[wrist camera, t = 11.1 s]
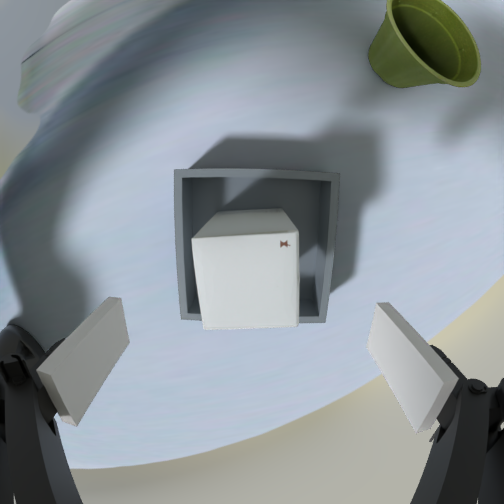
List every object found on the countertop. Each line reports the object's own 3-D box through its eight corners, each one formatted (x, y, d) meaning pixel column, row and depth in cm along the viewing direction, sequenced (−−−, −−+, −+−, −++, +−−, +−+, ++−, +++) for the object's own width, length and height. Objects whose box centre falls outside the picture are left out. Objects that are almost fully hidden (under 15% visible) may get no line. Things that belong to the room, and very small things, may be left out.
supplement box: (215, 210, 30) (188, 233, 18) (283, 207, 30) (302, 228, 18) (220, 274, 32) (200, 331, 20) (285, 271, 32) (301, 328, 20)
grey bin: (190, 299, 34) (181, 319, 29) (186, 170, 30) (174, 169, 25) (316, 303, 34) (325, 322, 29) (326, 173, 29) (339, 173, 25)
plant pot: (379, 116, 27) (430, 95, 17) (333, 34, 25) (362, -13, 14) (442, 96, 26) (496, 80, 15) (402, 24, 23) (442, -11, 12)
